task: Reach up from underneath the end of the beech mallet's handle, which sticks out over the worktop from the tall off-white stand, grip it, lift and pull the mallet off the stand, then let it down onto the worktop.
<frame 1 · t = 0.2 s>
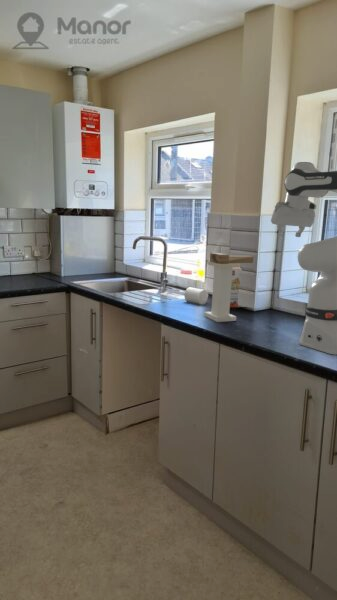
hand: (289, 236, 189), 40 cm above the table, tool pointing down, fingers open, 8 cm apart
stand: (219, 318, 210), on the table
mallet: (233, 262, 207), point 26 cm above the table, touching stand
cracker box: (232, 307, 238), on the table
mug: (197, 302, 245), on the table
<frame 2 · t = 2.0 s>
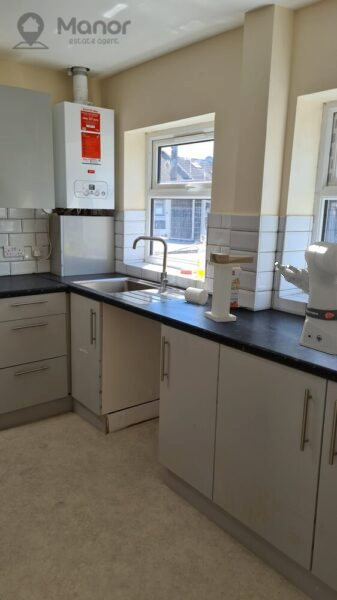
hand: (281, 264, 219), 25 cm above the table, tool pointing upward, fingers open, 8 cm apart
nothing on the table moved.
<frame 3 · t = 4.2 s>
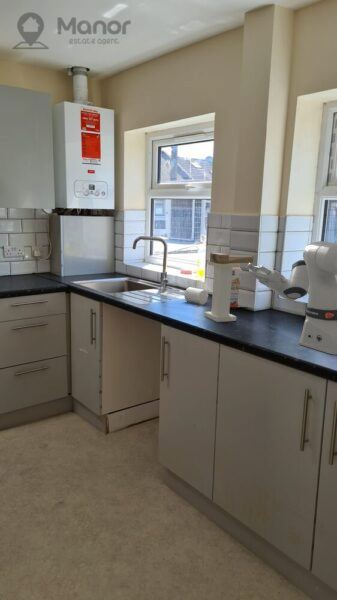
hand: (254, 265, 213), 24 cm above the table, tool pointing upward, fingers open, 8 cm apart
nothing on the table moved.
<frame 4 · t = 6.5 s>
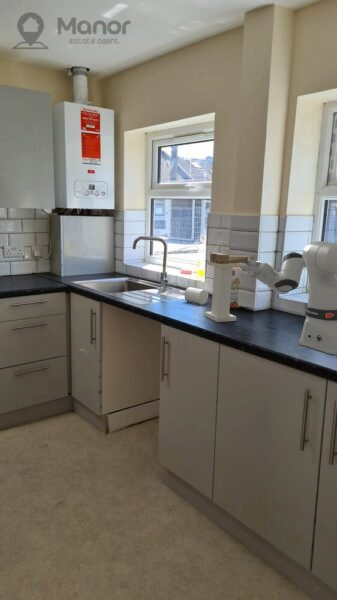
hand: (244, 258, 209), 28 cm above the table, tool pointing upward, fingers closed on mallet, 3 cm apart
mallet: (233, 262, 207), point 26 cm above the table, touching gripper, stand
everything else where it was.
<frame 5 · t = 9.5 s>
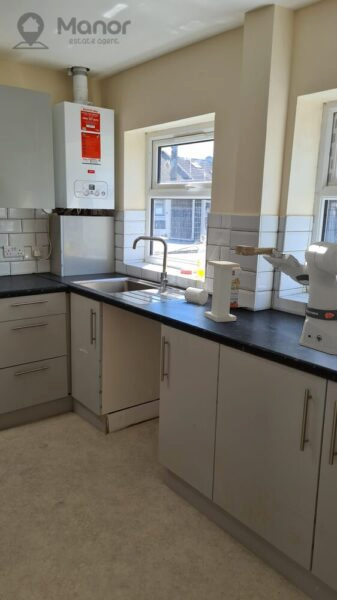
hand: (269, 250, 215), 32 cm above the table, tool pointing upward, fingers closed on mallet, 3 cm apart
mallet: (257, 254, 212), point 30 cm above the table, touching gripper
everything else where it was.
when the fingers open (19 cm above the table, at t = 12.9 s): mallet drops 17 cm, on the table.
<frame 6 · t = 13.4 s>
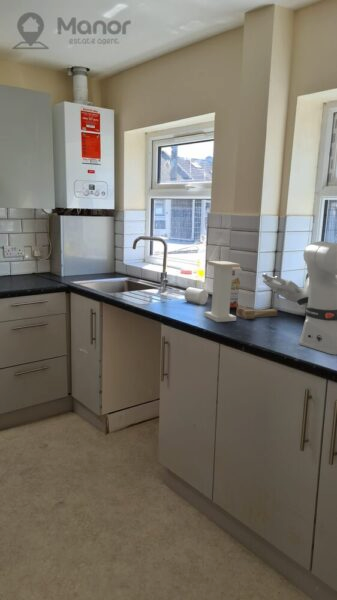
hand: (269, 276, 217), 19 cm above the table, tool pointing upward, fingers open, 8 cm apart
mallet: (258, 316, 219), on the table
everything else where it was.
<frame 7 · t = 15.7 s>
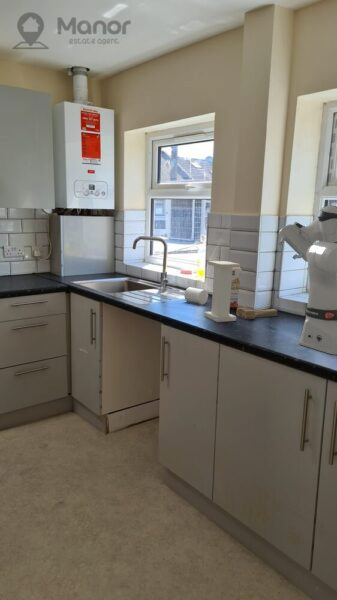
hand: (286, 250, 211), 32 cm above the table, tool tilted 65°, fingers open, 8 cm apart
nothing on the table moved.
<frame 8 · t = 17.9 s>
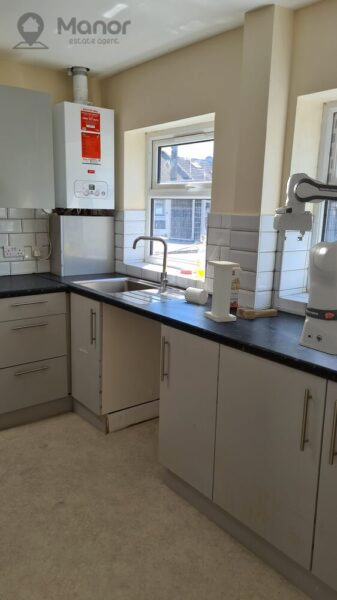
hand: (291, 240, 209), 37 cm above the table, tool pointing down, fingers open, 8 cm apart
nothing on the table moved.
at the end: mallet inside the target area (1.8 cm from its centre), on the table; mallet moved 30.9 cm from its start; the gripper is holding nothing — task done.
